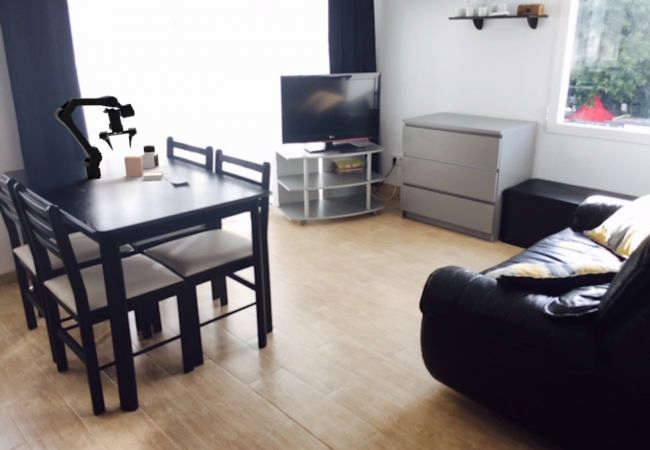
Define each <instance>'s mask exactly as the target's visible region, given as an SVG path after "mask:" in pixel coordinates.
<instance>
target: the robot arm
mask: <svg viewBox="0 0 650 450" xmlns="http://www.w3.org/2000/svg"><path fill="white" fill-rule="evenodd" d="M83 106H84V107H85V106H86V107H91V106H92V107H93V106H99V107H100V106H101V107H105V108H104V110H103V113H104V114H107V117H108V121H109V123H108V129H109V130H110V132H108V131H107V130H106V131H100V132H99V134H98V137H99V140H102V141H104V142H105V143H106V144H107V145H108V147H109V148H110V150H111V151H114V147H113V144H112V143H111V138H110V137H113V136H119V135H127V134H128V144H129V149H132V139H133V137H135V135H137V134H138V130H137V128H136V127H128V128H127V129H125V130H124V125H123V124H122V119H126V118H132V117H135V115H136V113H135V111H136V110H135V109H134V107H133V106H132V104H131V103H126V104H121V103H120V102H119V100H118V98H117V97H116V96H114V95H113V96H112V95H104V96H100V97H70V98H69V99H68V100H67V101H66V102H64V103H63V104H62V105H61V106H60V107H58V108H56V109H55V110H54V112H53V116H54V118H55V119H56V120H57V121H58V122H59V123H60V124H62V125H63V126H65V128H67V130H68V131H69V132H70V134H71V135H72V136H73V138H74V139H75V141H76V142H77V144H79V145H80V147H81V148H82V149H83V153H84V155H85V158H84V159H83V161H82V163H83V165H84V169H85V173H86V176H85V177H86V179H87V180H95V179H101V177H102V172H101V168H100V165H101V163H102V161H103V153H102V152H101V151H100V149H99V148H98V147H97V146H94V145H93V146H92V144H91V143H90V142H89V141H88V140H87V138H86V137H85V136H84V134H83V133H82V132H81V131H80V129H79V128H78V126H77V125H76V124H75V122H74V119H73V117H72V114H73V113H74V112H75V110H76V108H77V107H83Z"/></svg>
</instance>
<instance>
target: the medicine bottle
mask: <svg viewBox="0 0 650 450" xmlns="http://www.w3.org/2000/svg"><path fill="white" fill-rule="evenodd" d="M142 149H143V154H142V155H141V156H142V165H143V169H145V168H147V169H149V168H150V169H151V168H157V167H158V166H160V163H159V162H160V161H159V153H158V152H156V148H155V145H153V144H152V145H151V144H149V145H144V146H143V148H142Z"/></svg>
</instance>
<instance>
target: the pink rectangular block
mask: <svg viewBox="0 0 650 450" xmlns="http://www.w3.org/2000/svg"><path fill="white" fill-rule="evenodd" d="M124 166H125V174H126V175H125V176H126V177H127V178H130V177H143V175H144V168H143V164H142V155H129V156H124Z"/></svg>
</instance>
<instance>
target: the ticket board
mask: <svg viewBox="0 0 650 450" xmlns="http://www.w3.org/2000/svg"><path fill="white" fill-rule="evenodd" d="M142 177H143V181H152V180H153V181H155V180H162V179H164V177H165V175H164V171H146V172H145V173H143V176H142Z"/></svg>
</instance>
